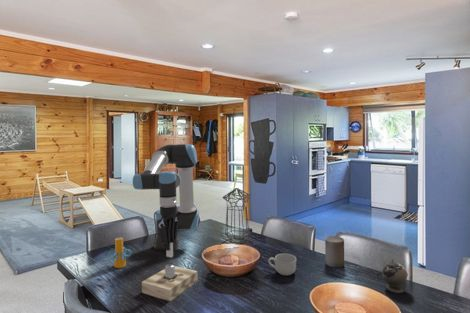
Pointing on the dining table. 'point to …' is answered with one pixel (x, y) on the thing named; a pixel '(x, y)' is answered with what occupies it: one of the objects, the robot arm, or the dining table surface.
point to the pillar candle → (334, 251)
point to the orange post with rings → (119, 254)
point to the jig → (169, 283)
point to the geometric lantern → (234, 213)
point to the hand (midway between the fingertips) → (169, 256)
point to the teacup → (284, 264)
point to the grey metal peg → (170, 271)
